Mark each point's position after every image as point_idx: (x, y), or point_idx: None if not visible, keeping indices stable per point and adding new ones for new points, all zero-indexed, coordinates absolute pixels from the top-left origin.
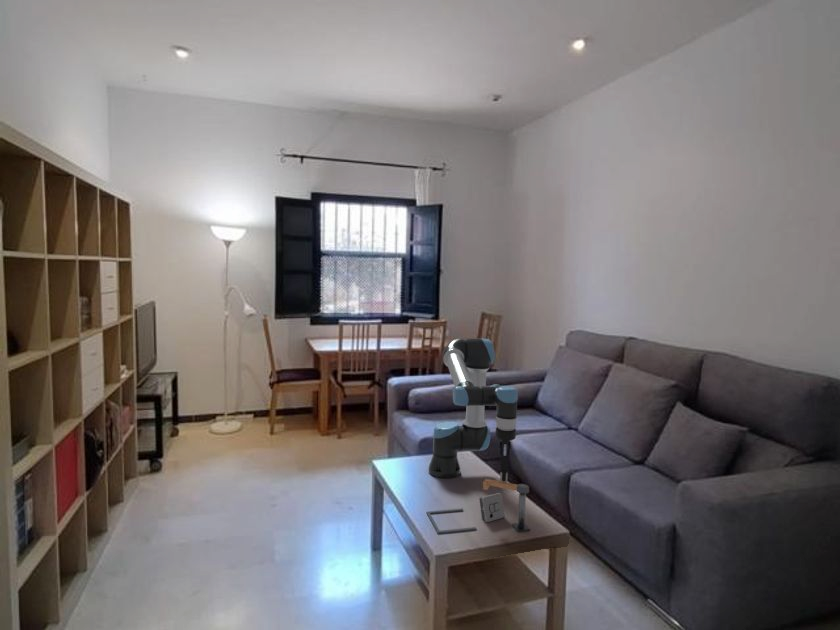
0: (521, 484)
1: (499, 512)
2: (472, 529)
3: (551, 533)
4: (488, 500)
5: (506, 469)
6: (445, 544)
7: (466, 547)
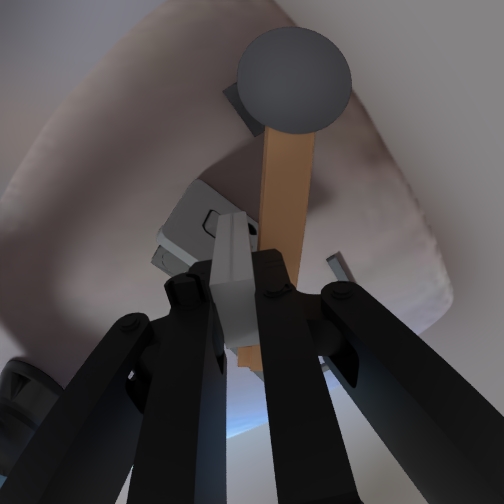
0: (255, 96)
1: (213, 203)
2: (341, 267)
3: None
4: None
5: (385, 318)
6: (422, 306)
7: (431, 256)
